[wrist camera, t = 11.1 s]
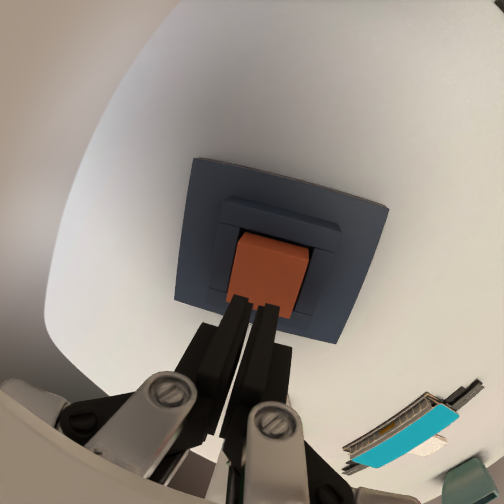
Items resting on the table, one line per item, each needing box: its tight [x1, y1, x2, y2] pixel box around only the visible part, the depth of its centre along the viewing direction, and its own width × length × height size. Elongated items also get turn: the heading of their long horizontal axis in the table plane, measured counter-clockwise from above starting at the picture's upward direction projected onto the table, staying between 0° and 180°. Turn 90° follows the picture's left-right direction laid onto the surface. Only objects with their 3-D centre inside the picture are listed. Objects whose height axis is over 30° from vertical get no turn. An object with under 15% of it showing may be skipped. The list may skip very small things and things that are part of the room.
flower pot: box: [442, 457, 499, 504], centre depth 21 cm, size 9×9×9 cm
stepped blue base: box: [174, 158, 389, 344], centre depth 17 cm, size 12×10×3 cm
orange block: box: [226, 232, 309, 319], centre depth 16 cm, size 4×4×2 cm
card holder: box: [342, 379, 484, 475], centre depth 23 cm, size 20×12×2 cm, turn 146°
